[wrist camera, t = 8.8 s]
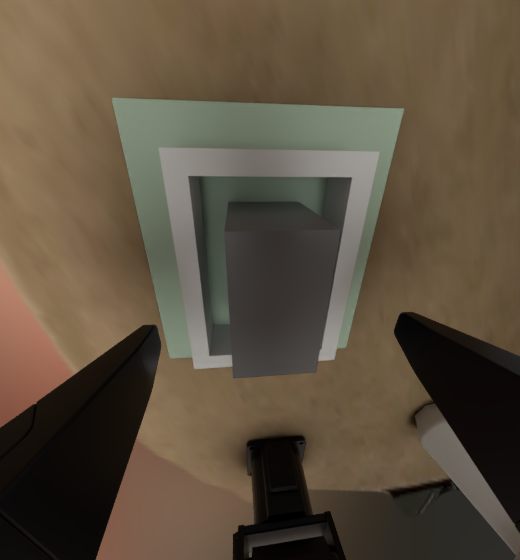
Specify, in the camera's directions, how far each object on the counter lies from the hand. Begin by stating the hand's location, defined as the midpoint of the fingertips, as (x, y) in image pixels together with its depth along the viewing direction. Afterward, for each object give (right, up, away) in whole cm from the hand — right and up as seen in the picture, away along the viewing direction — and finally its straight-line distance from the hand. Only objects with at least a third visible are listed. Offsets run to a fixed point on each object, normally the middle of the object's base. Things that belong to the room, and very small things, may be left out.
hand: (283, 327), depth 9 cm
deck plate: (-1, +3, +7) cm, 8 cm away
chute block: (-1, +3, +6) cm, 7 cm away
